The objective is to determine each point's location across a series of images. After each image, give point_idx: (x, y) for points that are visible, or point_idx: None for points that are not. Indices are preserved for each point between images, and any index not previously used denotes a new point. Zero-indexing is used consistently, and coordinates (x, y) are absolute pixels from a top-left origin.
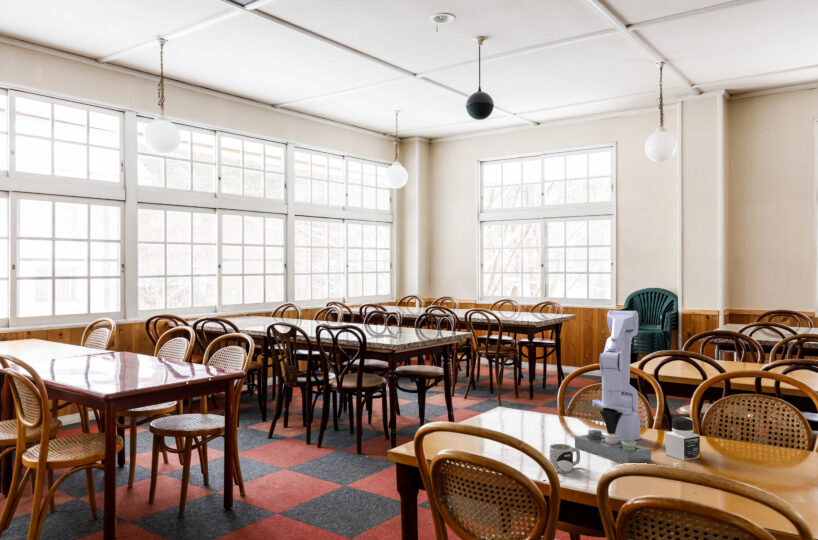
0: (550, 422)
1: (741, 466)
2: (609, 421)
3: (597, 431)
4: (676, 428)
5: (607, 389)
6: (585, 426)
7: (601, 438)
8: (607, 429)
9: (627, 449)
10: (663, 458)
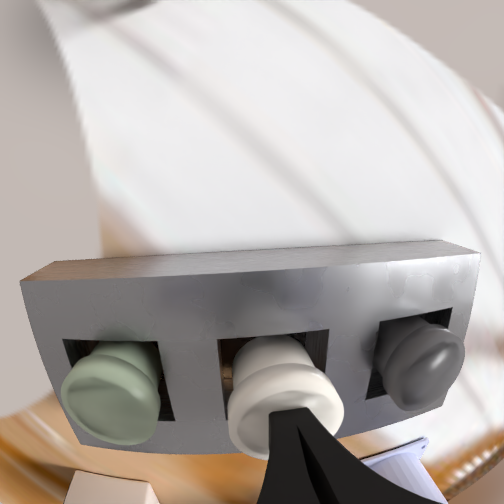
0: None
1: (29, 492)
2: (286, 498)
3: (422, 390)
4: None
5: None
6: (499, 421)
7: None
8: (310, 424)
9: (92, 353)
10: (113, 454)
